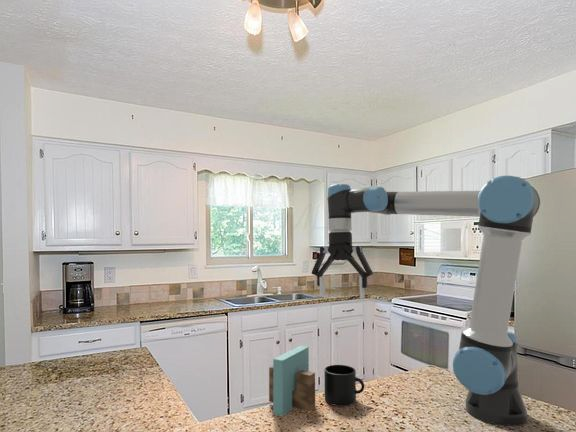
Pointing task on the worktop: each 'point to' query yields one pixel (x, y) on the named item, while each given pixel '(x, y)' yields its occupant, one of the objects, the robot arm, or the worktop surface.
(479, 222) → the robot arm
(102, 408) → the worktop surface
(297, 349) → the teal flat block
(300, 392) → the walnut u-shaped block
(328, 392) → the mug
